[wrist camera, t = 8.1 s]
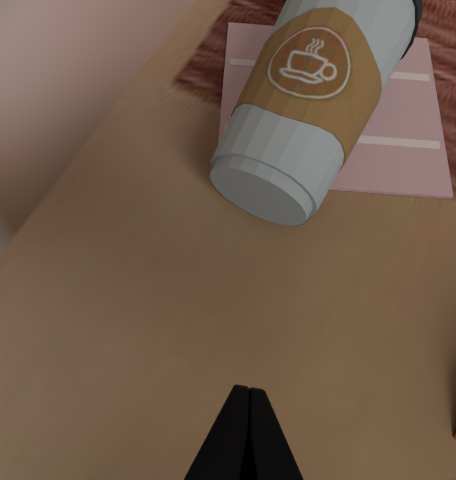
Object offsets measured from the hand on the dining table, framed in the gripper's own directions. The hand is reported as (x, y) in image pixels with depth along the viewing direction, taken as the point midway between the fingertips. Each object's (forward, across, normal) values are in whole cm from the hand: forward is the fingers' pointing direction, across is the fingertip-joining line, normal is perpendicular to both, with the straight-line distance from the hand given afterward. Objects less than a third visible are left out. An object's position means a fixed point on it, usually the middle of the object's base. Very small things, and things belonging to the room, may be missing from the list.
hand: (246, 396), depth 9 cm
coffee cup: (+11, 0, -2) cm, 11 cm away
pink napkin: (+21, -4, -7) cm, 22 cm away
